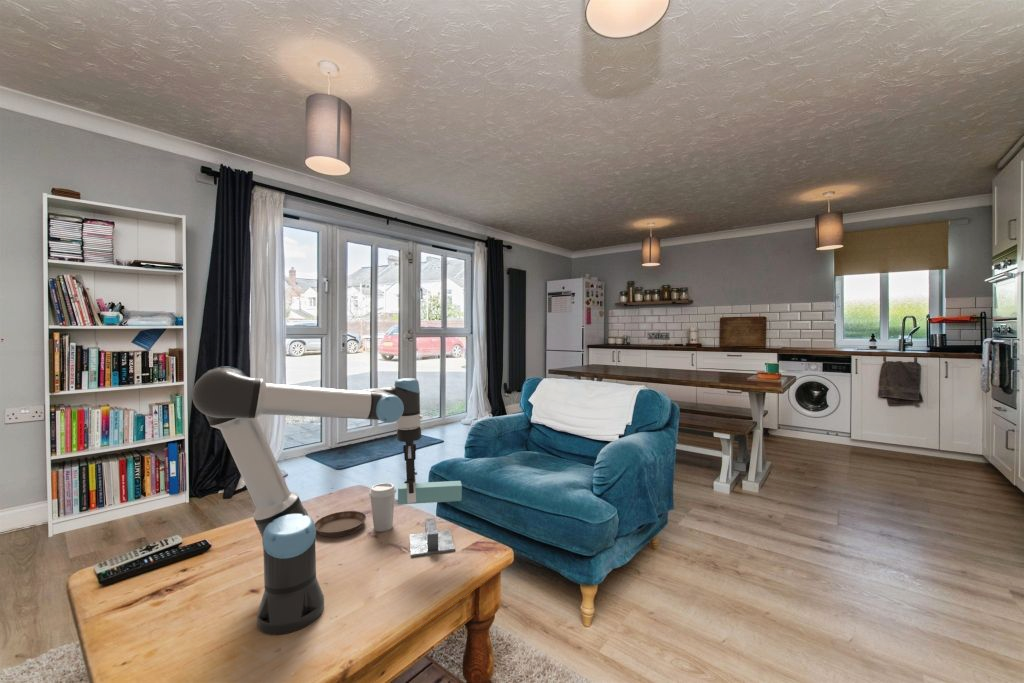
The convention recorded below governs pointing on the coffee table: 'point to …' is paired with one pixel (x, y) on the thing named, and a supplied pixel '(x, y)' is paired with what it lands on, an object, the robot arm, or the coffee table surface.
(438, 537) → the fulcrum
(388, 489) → the coffee cup
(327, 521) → the plant saucer
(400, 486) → the bar
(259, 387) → the robot arm
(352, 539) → the coffee table surface
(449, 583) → the coffee table surface
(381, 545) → the coffee table surface
